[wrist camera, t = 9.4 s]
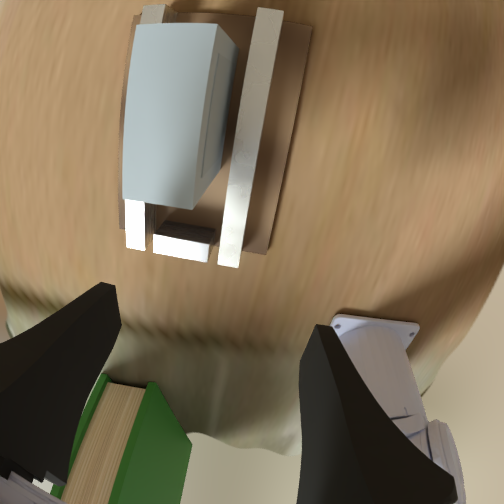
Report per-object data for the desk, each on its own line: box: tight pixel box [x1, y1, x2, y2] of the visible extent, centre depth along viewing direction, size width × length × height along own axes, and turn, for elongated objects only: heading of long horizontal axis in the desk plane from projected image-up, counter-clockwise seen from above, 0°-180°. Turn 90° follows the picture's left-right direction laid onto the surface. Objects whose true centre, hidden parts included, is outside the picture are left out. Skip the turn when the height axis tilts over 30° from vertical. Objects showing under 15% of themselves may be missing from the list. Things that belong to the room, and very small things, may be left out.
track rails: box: [125, 4, 284, 268], centre depth 14 cm, size 14×7×2 cm, turn 171°
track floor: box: [118, 13, 312, 255], centre depth 15 cm, size 14×10×1 cm
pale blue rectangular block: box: [122, 23, 239, 210], centre depth 12 cm, size 7×3×6 cm, turn 171°
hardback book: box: [50, 373, 192, 504], centre depth 23 cm, size 18×7×24 cm, turn 4°
